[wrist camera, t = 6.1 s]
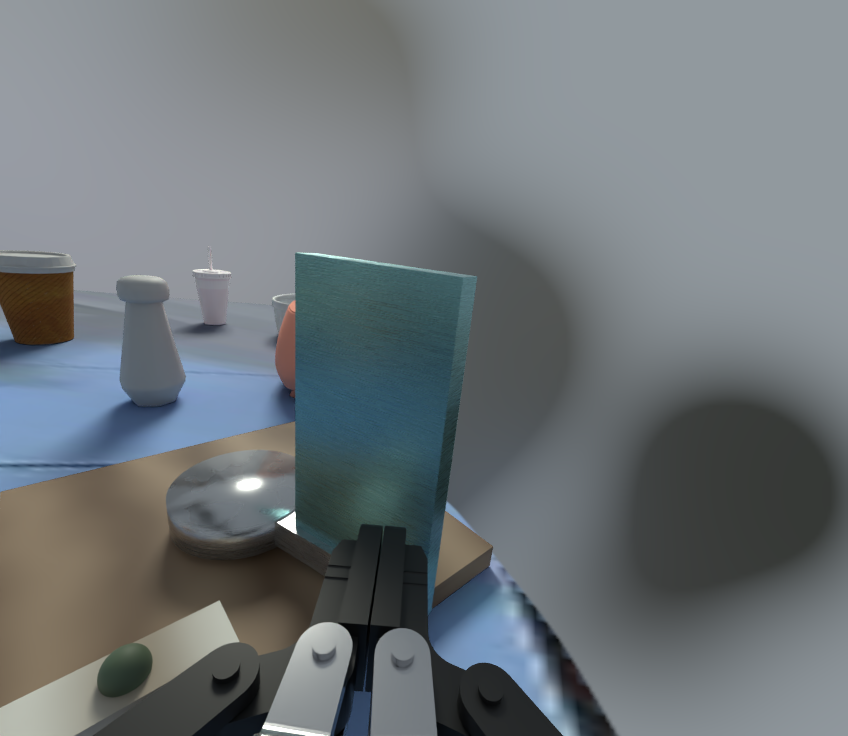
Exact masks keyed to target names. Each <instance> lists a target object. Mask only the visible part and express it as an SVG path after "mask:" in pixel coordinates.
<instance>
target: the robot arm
mask: <svg viewBox="0 0 848 736" xmlns="http://www.w3.org/2000/svg"><path fill="white" fill-rule="evenodd" d="M382 535H383V526H382V525H371V524H361V526H360V530H359V534H358V539H357V540H346V539H342V540H341V542H340V543H339V544H338V545H337V546H336V547H335V548H334V550H333V551H332V554H331V557H330V561H329V564H328V567H327V570H326V574H325V578H324V580H323V584H322V587H321V590H320V594H319V597H318V600H317V604H316V607H315V610H314V614H313V617H312V620H311V623H310V626H309V628H308V629H307V630H306V631H305V632H304V633H303V634H302V635H301V637H300V638H299V640H298V641H297V642H295V643H294V644H293V645H291V646H289V647H287V648H285V649H282V650H279V651H275V652H271V653H267V654H263V655H259V656H258V653H257V652H256V650H255V649H254V648H253V647H252V646H250V645H249V644H246V643H241V642H234V643H229V644H226V645H223V646H221V647H218V648H217V649H215V650H213V651H212V652H210V653H209V654H208V655H206V656H205V657H203V658H202V659H200V660H199V661H198V662H196V663H195V664H193V665H192V666H191V667H189V668H188V669H186V670H185V671H183V672H182V673H181V674H179V675H178V676H176V677H175V678H174V679H172V680H171V681H169V682H168V683H166V684H165V685H164V686H162V687H161V688H159V689H158V690H157V691H155V692H154V693H152V694H151V695H149V696H148V697H147V698H145V699H144V700H142V701H141V702H140V703H138V704H137V705H135V706H134V707H132V708H131V709H130V710H128V711H127V712H125V713H124V714H123V715H121V716H120V717H118V718H117V719H115V720H114V721H113V722H111V723H110V724H108V725H107V726H106V727H104V728H103V729H101V730H100V731H98V732H97V733H96V734H94V735H93V736H345V735H346V731H347V726H348V720H349V717H350V714H351V709H352V703H353V696H354V691H363V686H364V679H365V671H366V664H367V675H366V688H365V692H371V702H370V715H369V726H368V736H563V735H562V734H561V733H560V732H559V731H558V730H557V728H556V727H555V726H554V725H553V724H552V723H551V722H550V721H549V719H548V718H547V717H546V716H545V715H544V714H543V713H542V712H541V710H540V709H539V708H538V707H537V706H536V705H535V704H534V703H533V701H532V700H531V699H530V698H529V697H528V696H527V695H526V694H525V692H524V691H523V690H522V689H521V688H520V687H519V686H518V685H517V683H516V682H515V681H514V680H513V679H512V678H511V677H510V676H509V675H508V674H507V673H506V672H505V671H504V670H503V669H501V668H500V667H498V666H496V665H493V664H490V663H477V664H475V665H472V666H471V667H469V668H468V669H467V670H464V669H461V668H459V667H457V666H454V665H452V664H450V663H448V662H446V661H445V660H444V659H442V658H441V657H440V656H439V655H438V654H437V653H436V652H435V650H434V649H433V647H432V646H431V643H430V641H429V637H428V558H427V556H426V554H425V552H424V550H423V548H422V546H418V545H406V544H405V543H406V527H395V526H385V528H384V535H383V542H382ZM381 547H382V548H381ZM367 657H368V662H367Z"/></svg>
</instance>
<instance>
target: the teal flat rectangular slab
mask: <svg viewBox="0 0 848 736" xmlns="http://www.w3.org/2000/svg"><path fill="white" fill-rule="evenodd" d="M295 261H296V263H295V266H296V267H295V269H296V270H295V271H296V273H295V282H296V283H295V457H294V456H292V455H289V454H286V453H282V452H278V451H271V450H244V451H237V452H231V453H226V454H222V455H219V456H216V457H212V458H210V459H207V460H204V461H202V462H200V463H198V464H196V465H194V466H192V467H191V468H189V469H187V470H186V471H184V472H183V473H182V474H181V475H179V476H178V477H177V478H176V479H175V480H174V481H173V483H172V484H171V486H170V487H169V489H168V491H167V494H166V507H167V516H168V524H169V533H170V537H171V539H172V541H173V542H174V544H175V545H176V546H177V547H178V548H179V549H180V550H182V551H184V552H185V553H187V554H189V555H192V556H194V557H198V558H202V559H209V560H235V559H241V558H247V557H251V556H255V555H258V554H261V553H264V552H267V551H269V550H271V549H274V548H276V547H279V548H281V549H282V550H284V551H285V552H287V553H288V554H290V555H292V556H293V557H295V558H296V559H298V560H300V561H301V562H303V563H304V564H306V565H307V566H309V567H311V568H312V569H314V570H315V571H317V572H319V573H320V574H322V575H323V576H325V574H326V570H327V567H328V564H329V561H330V557H331V554H332V551H333V550H334V548H335V547H336V546H337V545H338V544H339V543H340V542H341V540H342V539H346V540H357V539H358V534H359V530H360V526H361V524H371V525H382V526H383V535H384V528H385V526H395V527H406V543H405V544H406V545H418V546H422V548H423V550H424V552H425V554H426V556H427V558H428V615H429V614H430V612H431V610H432V603H433V595H434V588H435V581H436V573H437V566H438V559H439V551H440V544H441V537H442V530H443V522H444V515H445V508H446V500H447V493H448V485H449V478H450V471H451V464H452V456H453V449H454V442H455V434H456V427H457V420H458V413H459V405H460V397H461V391H462V383H463V376H464V369H465V361H466V354H467V347H468V339H469V332H470V325H471V318H472V310H473V303H474V296H475V288H476V281H477V276H471V275H463V274H457V273H450V272H443V271H435V270H429V269H421V268H415V267H408V266H401V265H393V264H387V263H380V262H373V261H366V260H359V259H352V258H345V257H338V256H332V255H324V254H318V253H296V254H295ZM383 535H382V542H383ZM381 548H382V547H381Z"/></svg>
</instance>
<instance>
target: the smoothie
mask: <svg viewBox="0 0 848 736" xmlns="http://www.w3.org/2000/svg"><path fill="white" fill-rule="evenodd" d="M208 257H209V269H200V270H193V277H195V281H196V286H197V291H198V296H199V300H200V305H201V310H202V315H203V320H204V323H205V324H208V325H222V324H225V323H226V315H227V303H228V290H229V279H230V278H231V272H228V271H221V270H213V268H212V251H211V247H208Z"/></svg>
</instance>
